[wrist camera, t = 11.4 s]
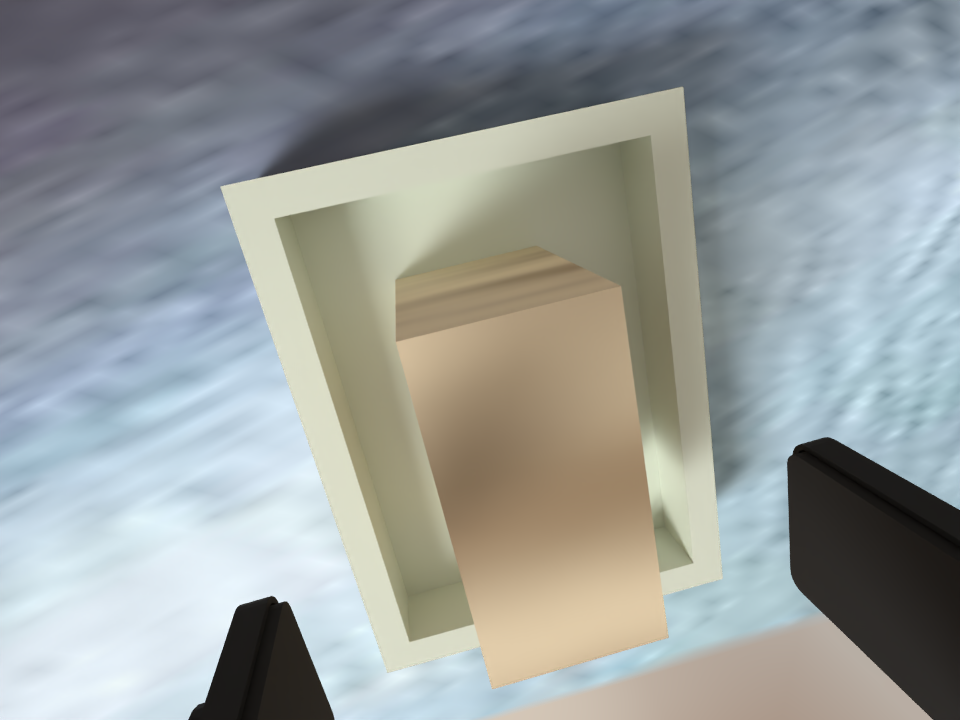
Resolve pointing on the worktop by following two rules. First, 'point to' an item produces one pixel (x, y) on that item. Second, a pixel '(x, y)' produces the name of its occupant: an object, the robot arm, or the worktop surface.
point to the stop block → (535, 456)
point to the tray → (456, 240)
